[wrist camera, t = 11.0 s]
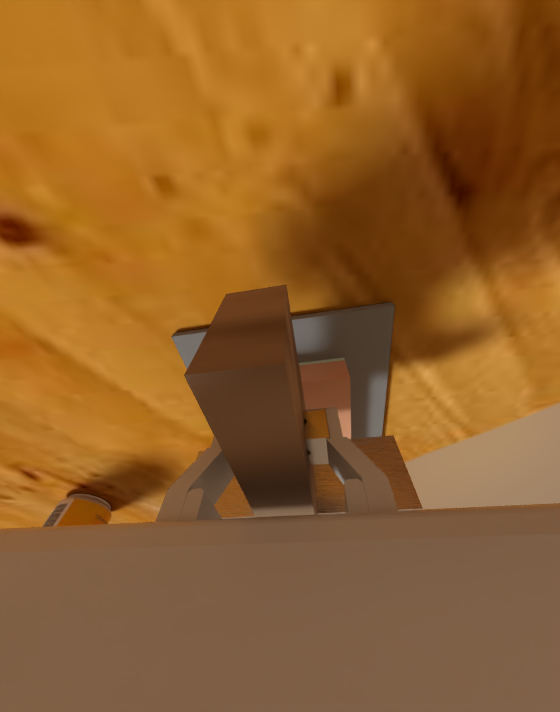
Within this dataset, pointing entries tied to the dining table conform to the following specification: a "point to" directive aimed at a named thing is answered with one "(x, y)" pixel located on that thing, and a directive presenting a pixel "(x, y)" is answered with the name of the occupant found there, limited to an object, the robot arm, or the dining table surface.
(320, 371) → the terracotta tile
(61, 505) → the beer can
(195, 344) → the charcoal mat
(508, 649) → the robot arm
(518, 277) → the dining table surface
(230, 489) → the walnut scraper
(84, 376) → the dining table surface
